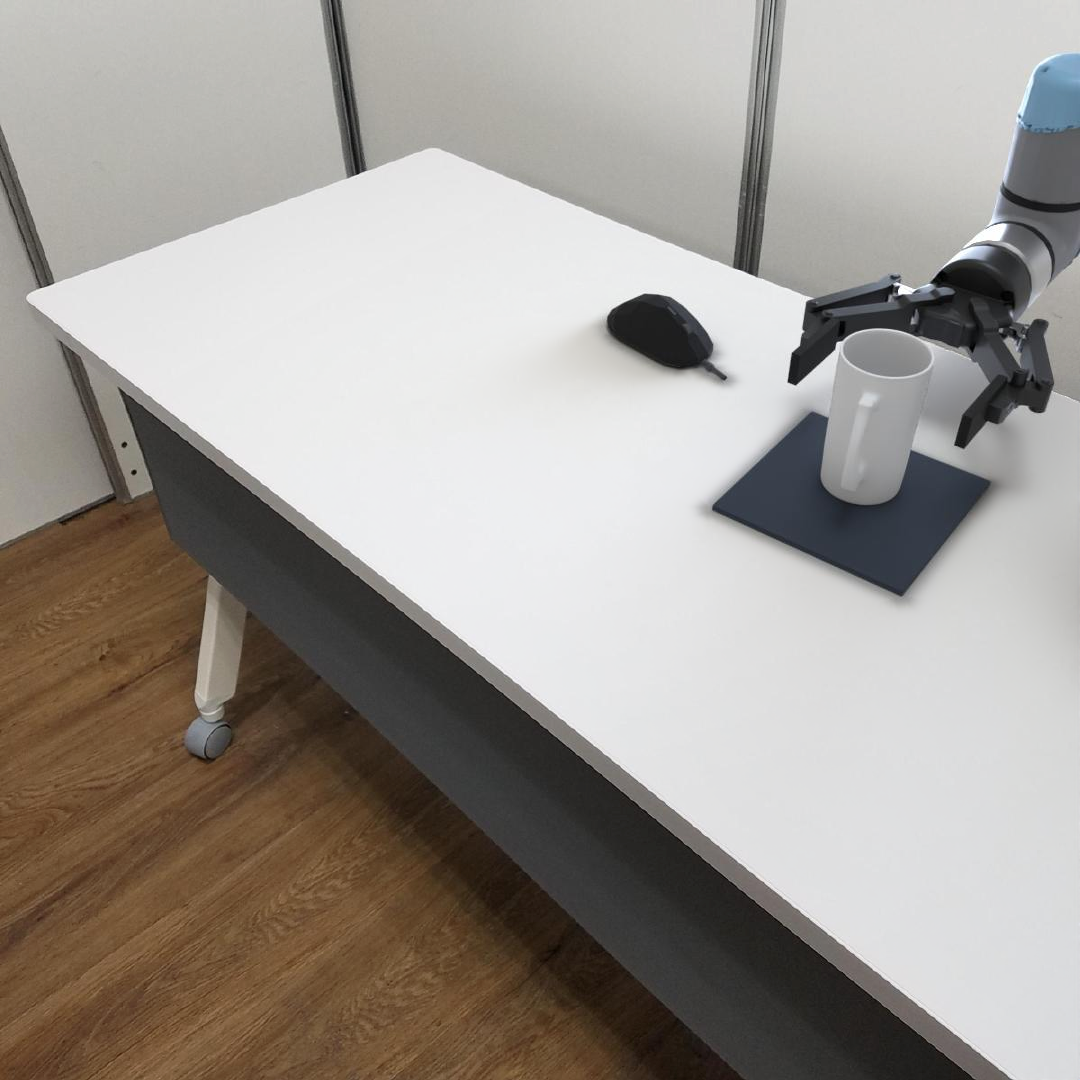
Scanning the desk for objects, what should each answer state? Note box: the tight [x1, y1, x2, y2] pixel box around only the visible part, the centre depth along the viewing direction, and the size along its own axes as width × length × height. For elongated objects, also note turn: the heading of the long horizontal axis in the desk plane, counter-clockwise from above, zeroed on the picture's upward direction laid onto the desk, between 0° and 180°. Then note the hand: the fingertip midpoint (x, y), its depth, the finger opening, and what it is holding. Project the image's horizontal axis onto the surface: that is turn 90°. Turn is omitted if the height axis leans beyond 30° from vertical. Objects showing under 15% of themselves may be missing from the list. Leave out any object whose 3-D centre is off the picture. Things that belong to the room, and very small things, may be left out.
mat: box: [711, 411, 992, 597], centre depth 90 cm, size 16×16×1 cm
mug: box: [821, 329, 936, 505], centre depth 85 cm, size 10×7×12 cm, turn 153°
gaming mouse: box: [606, 293, 728, 381], centre depth 106 cm, size 6×15×4 cm, turn 38°
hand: (874, 399), depth 84 cm, fingers open, 13 cm apart
